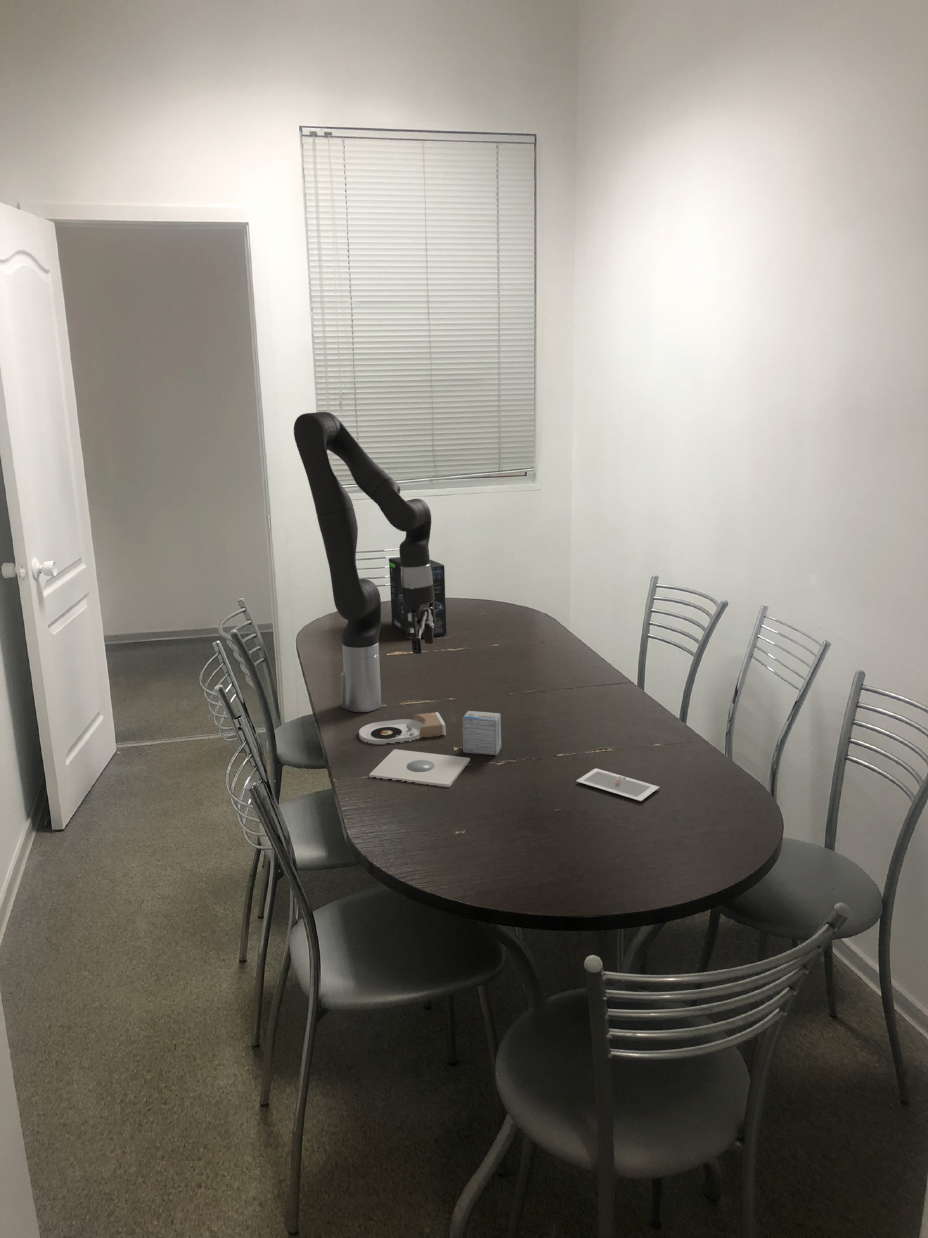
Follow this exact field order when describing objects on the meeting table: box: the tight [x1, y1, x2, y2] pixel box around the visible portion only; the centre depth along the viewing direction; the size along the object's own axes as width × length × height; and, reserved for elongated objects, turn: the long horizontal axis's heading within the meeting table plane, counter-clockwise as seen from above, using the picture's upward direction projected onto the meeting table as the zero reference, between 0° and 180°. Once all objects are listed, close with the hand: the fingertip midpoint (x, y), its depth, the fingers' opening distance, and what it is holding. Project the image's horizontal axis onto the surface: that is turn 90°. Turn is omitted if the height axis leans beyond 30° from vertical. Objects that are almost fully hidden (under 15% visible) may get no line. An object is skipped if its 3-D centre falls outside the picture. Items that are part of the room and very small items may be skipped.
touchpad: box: [576, 767, 660, 802], centre depth 179 cm, size 8×15×2 cm, turn 51°
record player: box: [358, 711, 447, 745], centre depth 209 cm, size 12×3×20 cm
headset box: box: [388, 556, 448, 639], centre depth 296 cm, size 22×12×26 cm, turn 25°
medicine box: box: [462, 710, 502, 756], centre depth 197 cm, size 8×4×9 cm, turn 74°
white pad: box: [368, 748, 471, 788], centre depth 189 cm, size 18×14×1 cm
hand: (423, 648), depth 213 cm, fingers open, 8 cm apart
